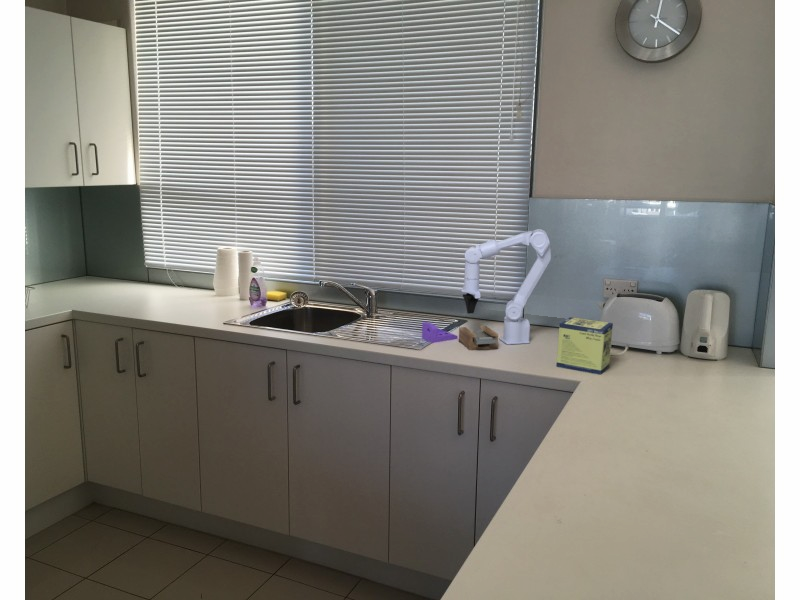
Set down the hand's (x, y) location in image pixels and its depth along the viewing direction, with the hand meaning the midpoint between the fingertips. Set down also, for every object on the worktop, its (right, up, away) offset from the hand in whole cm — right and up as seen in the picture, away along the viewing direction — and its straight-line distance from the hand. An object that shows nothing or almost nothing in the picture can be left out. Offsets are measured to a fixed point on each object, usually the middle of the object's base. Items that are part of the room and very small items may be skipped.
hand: (470, 313), depth 261 cm
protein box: (+35, -18, -31) cm, 50 cm away
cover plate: (+3, -10, -10) cm, 14 cm away
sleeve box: (+2, -12, -6) cm, 14 cm away
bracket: (-12, -11, +2) cm, 16 cm away
